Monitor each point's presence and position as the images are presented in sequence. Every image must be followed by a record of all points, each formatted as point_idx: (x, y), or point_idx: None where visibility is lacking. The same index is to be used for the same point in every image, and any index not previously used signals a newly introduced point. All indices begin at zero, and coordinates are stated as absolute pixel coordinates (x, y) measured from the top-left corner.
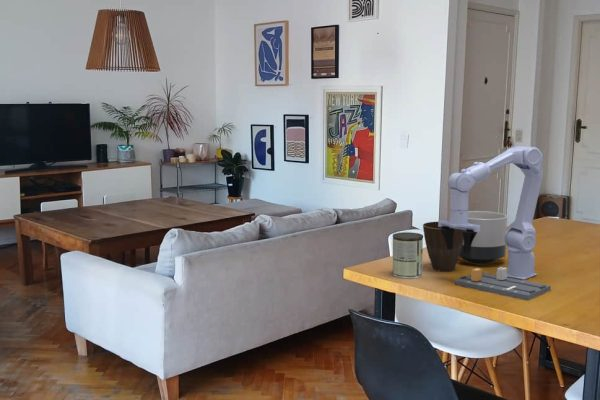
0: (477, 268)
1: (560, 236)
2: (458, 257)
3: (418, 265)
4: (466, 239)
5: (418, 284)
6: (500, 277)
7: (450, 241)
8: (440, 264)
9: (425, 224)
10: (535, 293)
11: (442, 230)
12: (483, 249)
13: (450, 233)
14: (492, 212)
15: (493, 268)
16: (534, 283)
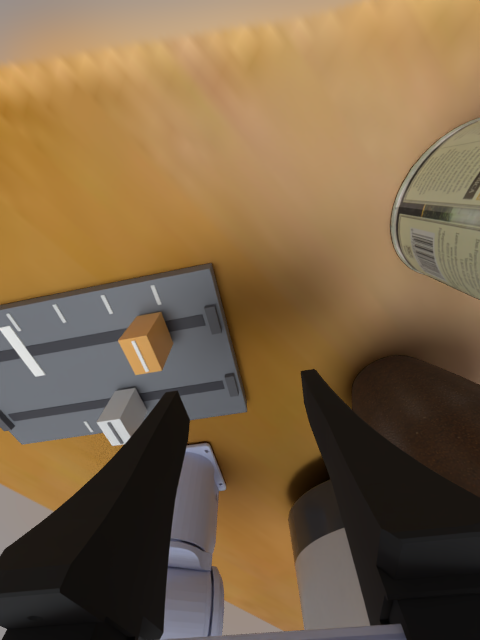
0: (154, 370)
1: None
2: None
3: (434, 219)
4: (94, 484)
5: (318, 110)
6: (117, 396)
7: (322, 438)
8: (389, 370)
9: None
10: None
11: (451, 518)
12: (321, 525)
13: (352, 521)
14: None
15: (281, 472)
16: (57, 432)
